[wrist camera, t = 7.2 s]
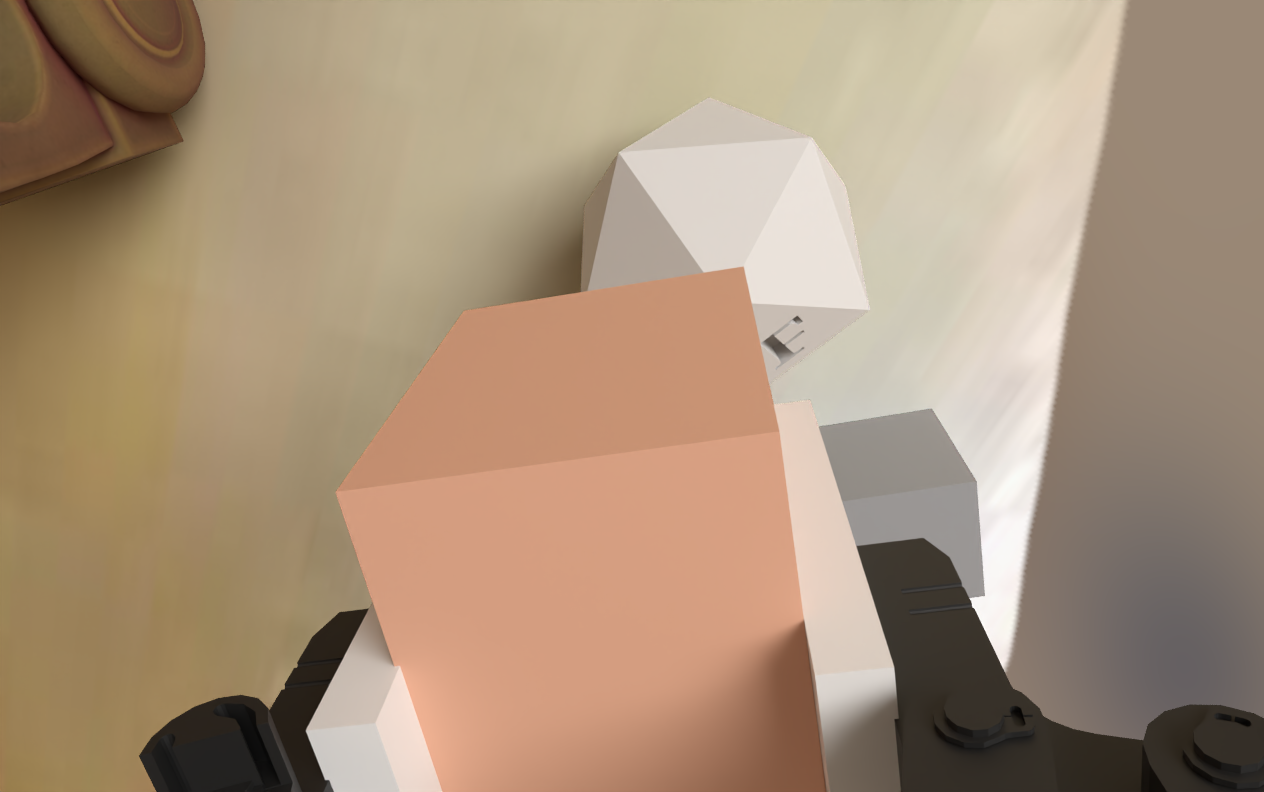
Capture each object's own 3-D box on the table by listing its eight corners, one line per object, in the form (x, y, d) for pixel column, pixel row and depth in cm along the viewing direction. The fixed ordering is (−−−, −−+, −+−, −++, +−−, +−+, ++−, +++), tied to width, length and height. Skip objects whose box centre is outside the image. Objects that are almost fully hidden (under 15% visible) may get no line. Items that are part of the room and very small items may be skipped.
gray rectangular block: (750, 436, 37) (762, 513, 31) (931, 407, 36) (976, 481, 30) (767, 534, 39) (781, 623, 33) (940, 508, 38) (984, 596, 32)
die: (699, 379, 36) (705, 508, 27) (542, 201, 34) (489, 276, 24) (884, 238, 34) (960, 327, 24) (728, 35, 31) (747, 49, 22)
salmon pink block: (463, 311, 15) (335, 492, 10) (743, 266, 14) (780, 431, 9) (554, 661, 18) (494, 962, 12) (793, 634, 17) (844, 935, 12)
